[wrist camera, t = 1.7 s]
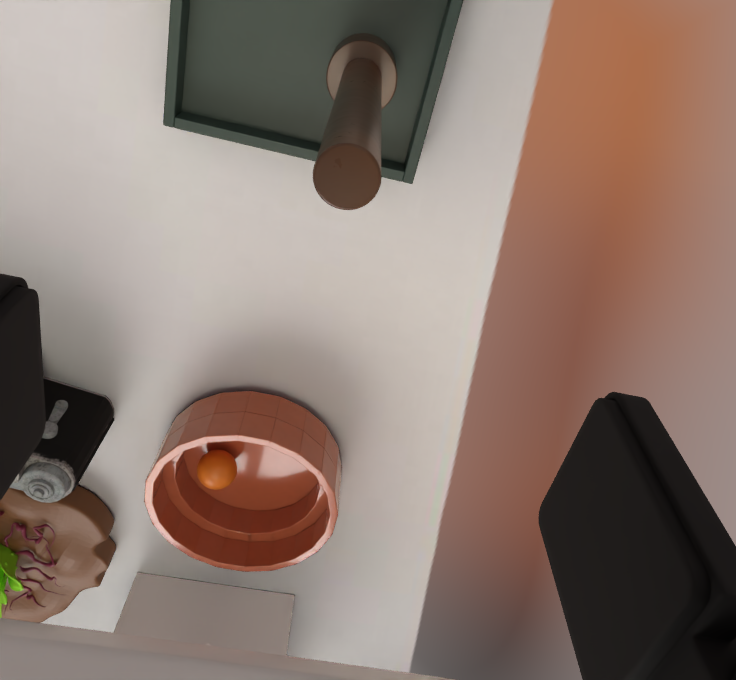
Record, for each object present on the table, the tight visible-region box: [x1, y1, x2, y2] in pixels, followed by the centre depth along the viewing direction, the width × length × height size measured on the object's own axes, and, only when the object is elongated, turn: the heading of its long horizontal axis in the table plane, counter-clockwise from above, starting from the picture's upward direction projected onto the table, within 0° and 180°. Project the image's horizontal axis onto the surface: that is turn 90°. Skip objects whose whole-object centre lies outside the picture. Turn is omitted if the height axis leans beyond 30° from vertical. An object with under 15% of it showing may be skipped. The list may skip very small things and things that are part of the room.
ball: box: [197, 450, 237, 490], centre depth 48 cm, size 3×3×3 cm
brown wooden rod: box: [313, 33, 397, 210], centre depth 27 cm, size 4×4×19 cm
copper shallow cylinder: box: [144, 391, 342, 572], centre depth 48 cm, size 14×14×6 cm
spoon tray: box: [163, 0, 463, 184], centre depth 34 cm, size 14×10×2 cm
